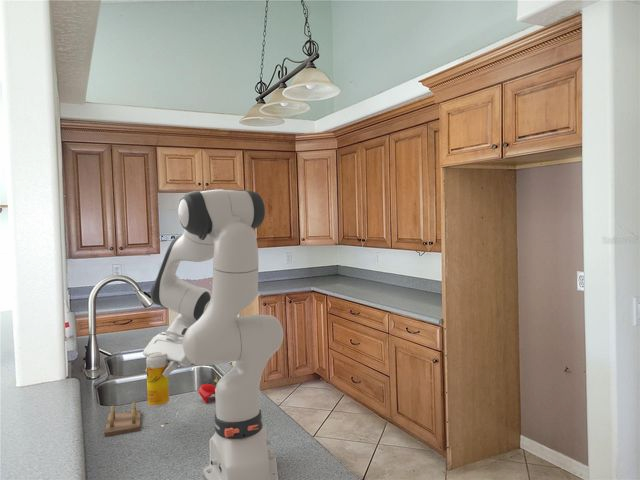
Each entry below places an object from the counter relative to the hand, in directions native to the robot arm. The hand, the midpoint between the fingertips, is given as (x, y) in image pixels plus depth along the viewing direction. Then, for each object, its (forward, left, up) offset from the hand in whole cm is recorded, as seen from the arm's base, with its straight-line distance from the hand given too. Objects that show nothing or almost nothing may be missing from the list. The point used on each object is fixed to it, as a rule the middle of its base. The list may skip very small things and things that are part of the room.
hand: (155, 374), depth 141 cm
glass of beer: (0, 0, -9) cm, 9 cm away
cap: (+23, -18, -19) cm, 34 cm away
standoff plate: (+14, +10, -19) cm, 25 cm away
